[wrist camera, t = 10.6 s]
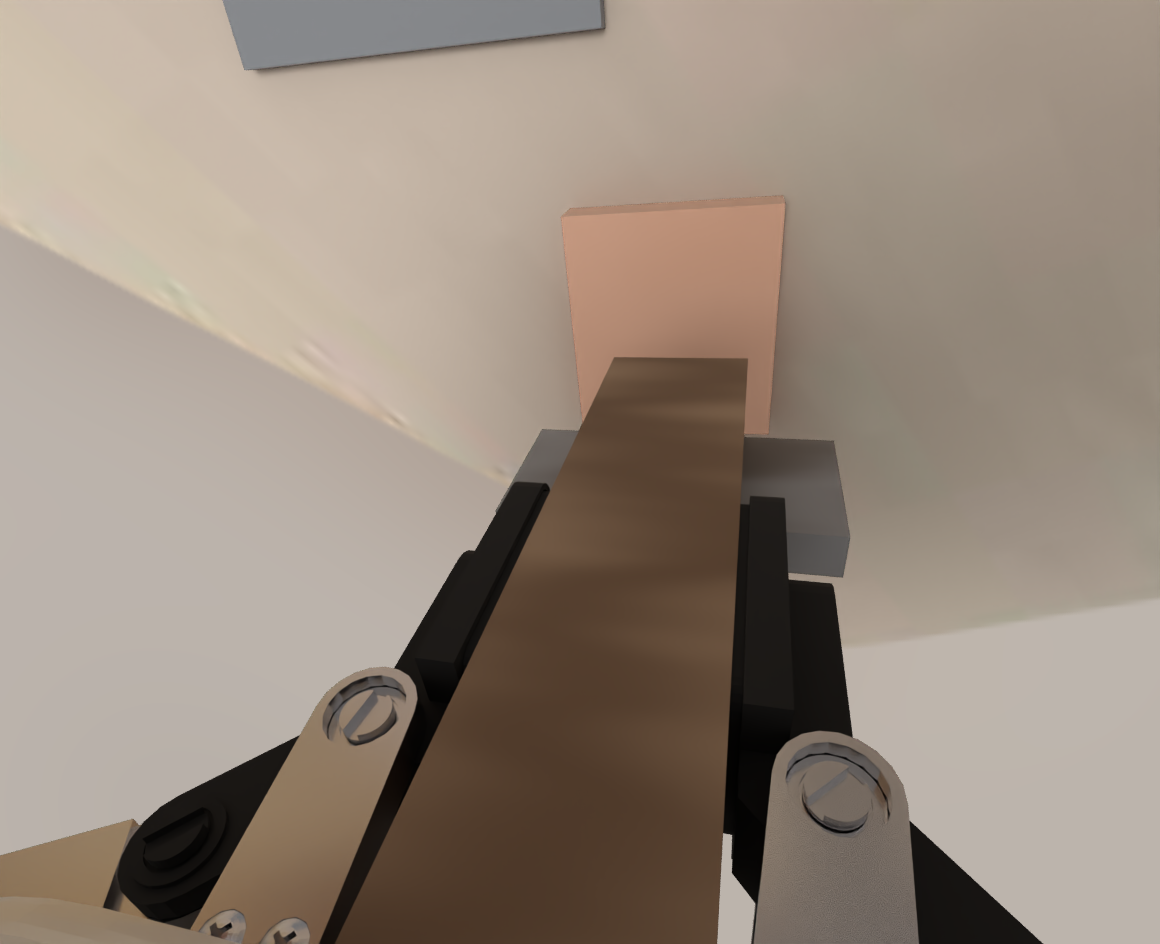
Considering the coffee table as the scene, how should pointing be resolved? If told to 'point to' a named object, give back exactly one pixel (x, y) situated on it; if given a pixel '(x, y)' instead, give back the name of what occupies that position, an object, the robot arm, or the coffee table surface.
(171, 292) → the coffee table surface
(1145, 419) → the coffee table surface
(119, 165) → the coffee table surface
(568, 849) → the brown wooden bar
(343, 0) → the mat
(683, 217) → the tile
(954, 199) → the coffee table surface
